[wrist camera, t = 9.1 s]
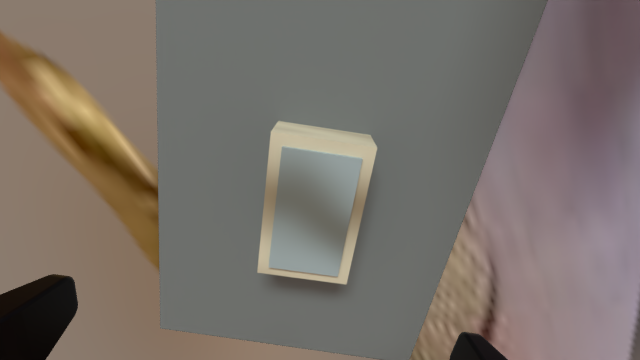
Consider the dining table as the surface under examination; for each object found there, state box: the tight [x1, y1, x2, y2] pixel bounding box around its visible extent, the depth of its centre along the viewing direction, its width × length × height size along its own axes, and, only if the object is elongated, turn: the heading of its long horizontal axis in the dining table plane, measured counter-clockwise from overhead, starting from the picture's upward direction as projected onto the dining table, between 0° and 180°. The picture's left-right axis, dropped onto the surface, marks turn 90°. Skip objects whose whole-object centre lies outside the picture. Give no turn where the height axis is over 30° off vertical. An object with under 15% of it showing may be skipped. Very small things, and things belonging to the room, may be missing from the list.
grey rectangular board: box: [156, 0, 548, 360], centre depth 19 cm, size 18×24×1 cm
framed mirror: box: [257, 121, 377, 284], centre depth 17 cm, size 8×5×3 cm, turn 171°
